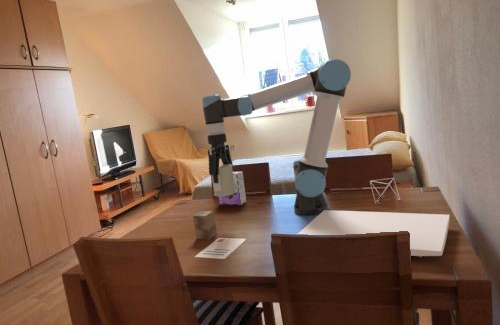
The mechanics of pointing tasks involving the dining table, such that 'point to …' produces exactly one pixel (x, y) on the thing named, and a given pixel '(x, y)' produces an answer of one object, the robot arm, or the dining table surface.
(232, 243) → the letter
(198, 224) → the block
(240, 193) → the candy box
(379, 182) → the geometric polyhedron
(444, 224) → the board
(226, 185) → the can
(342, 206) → the dining table surface
